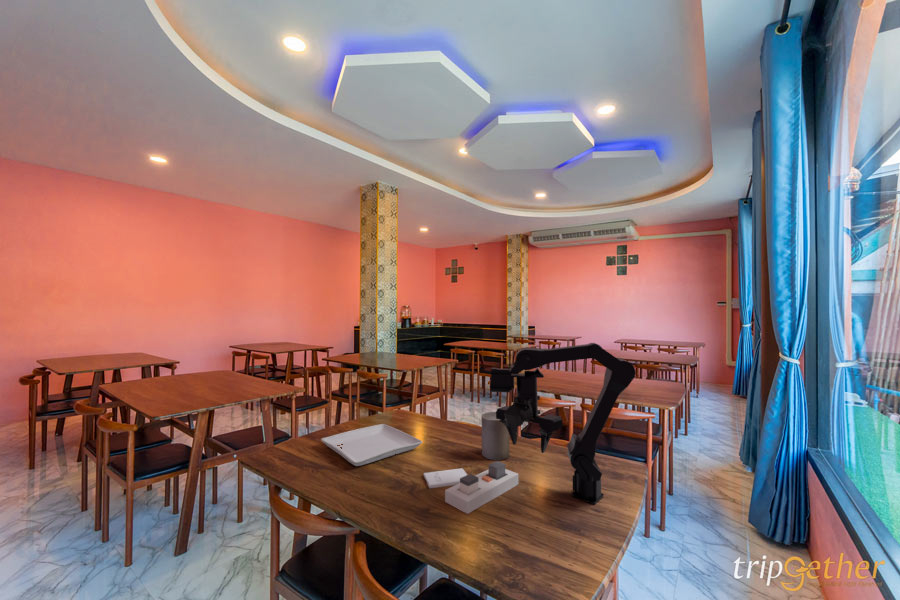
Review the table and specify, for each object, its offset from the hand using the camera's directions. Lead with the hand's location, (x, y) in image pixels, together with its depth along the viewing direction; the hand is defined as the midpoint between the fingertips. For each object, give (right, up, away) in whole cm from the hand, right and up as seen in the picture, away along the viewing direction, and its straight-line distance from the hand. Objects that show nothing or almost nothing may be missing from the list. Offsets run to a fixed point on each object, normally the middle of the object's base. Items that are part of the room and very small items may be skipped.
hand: (528, 448), depth 101 cm
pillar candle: (-6, -13, +24) cm, 28 cm away
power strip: (-13, -12, -2) cm, 17 cm away
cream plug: (-17, -11, -6) cm, 21 cm away
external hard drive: (-23, -13, +6) cm, 27 cm away
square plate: (-51, -13, +29) cm, 60 cm away
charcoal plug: (-9, -12, +2) cm, 15 cm away
